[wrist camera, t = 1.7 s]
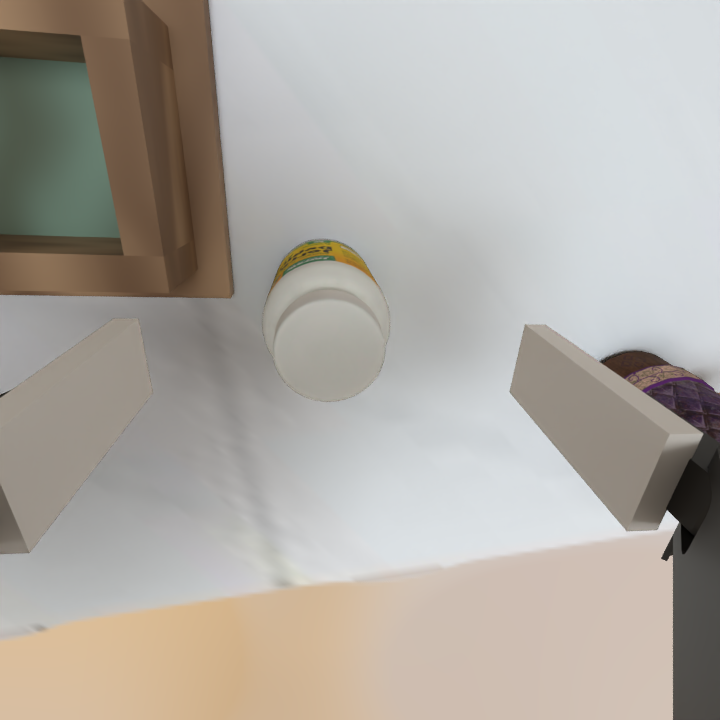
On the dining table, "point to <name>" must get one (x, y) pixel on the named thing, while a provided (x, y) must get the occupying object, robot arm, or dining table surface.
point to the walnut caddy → (110, 151)
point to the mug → (671, 388)
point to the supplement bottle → (326, 321)
